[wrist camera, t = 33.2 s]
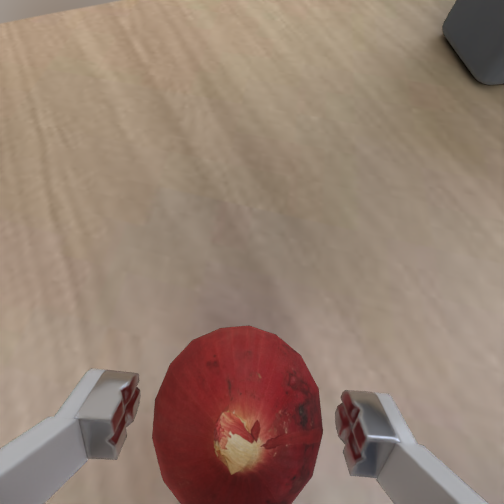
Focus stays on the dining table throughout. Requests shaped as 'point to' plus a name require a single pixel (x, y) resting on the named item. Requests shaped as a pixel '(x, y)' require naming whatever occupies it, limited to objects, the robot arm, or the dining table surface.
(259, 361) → the onion
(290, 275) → the dining table surface
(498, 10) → the storage bin
